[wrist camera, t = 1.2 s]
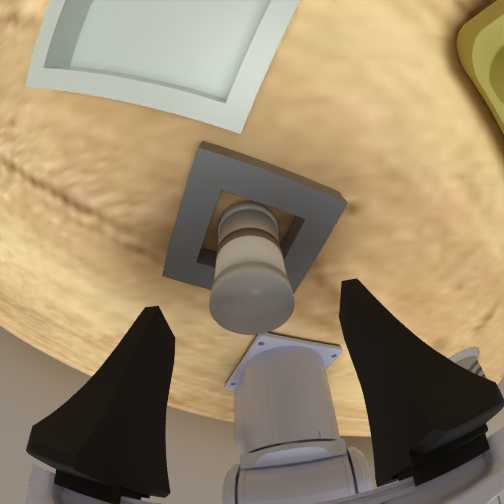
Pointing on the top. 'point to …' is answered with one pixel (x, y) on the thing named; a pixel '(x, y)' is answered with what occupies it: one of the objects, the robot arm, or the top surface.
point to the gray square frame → (256, 189)
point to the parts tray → (163, 53)
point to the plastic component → (485, 56)
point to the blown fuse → (250, 272)
